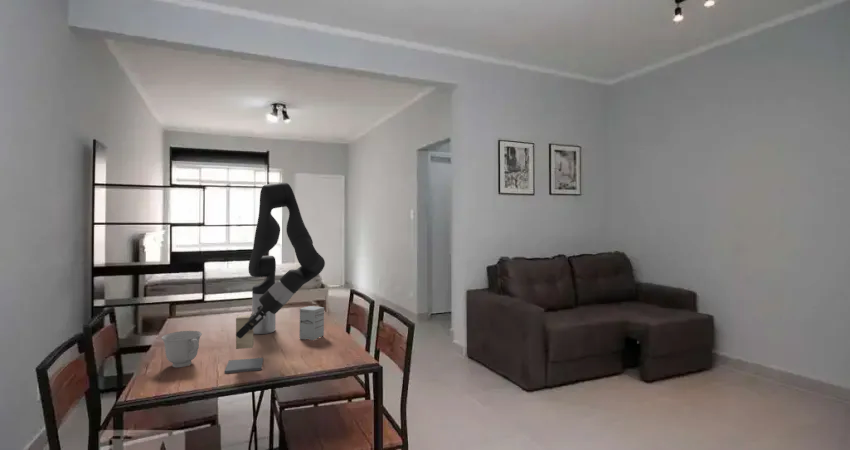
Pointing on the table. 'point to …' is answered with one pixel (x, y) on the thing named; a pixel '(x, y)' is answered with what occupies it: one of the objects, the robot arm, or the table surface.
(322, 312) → the supplement box
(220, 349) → the table surface
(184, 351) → the teacup
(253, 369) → the slate coaster
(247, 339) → the beech block
